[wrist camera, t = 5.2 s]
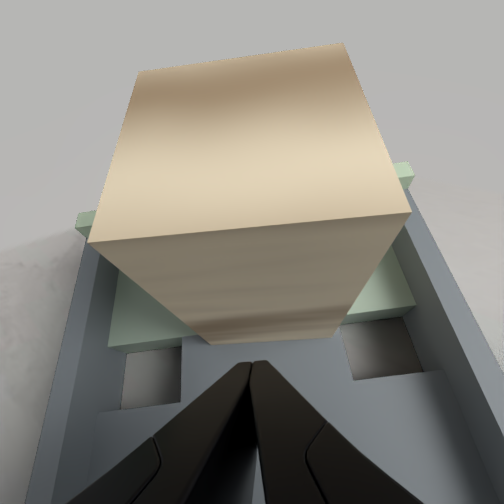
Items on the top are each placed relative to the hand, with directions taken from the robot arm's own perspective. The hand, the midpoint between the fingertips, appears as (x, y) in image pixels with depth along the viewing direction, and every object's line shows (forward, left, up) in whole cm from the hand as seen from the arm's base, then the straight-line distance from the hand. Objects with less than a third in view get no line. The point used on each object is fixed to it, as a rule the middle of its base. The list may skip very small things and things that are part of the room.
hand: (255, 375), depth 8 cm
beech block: (+5, -1, -6) cm, 8 cm away
